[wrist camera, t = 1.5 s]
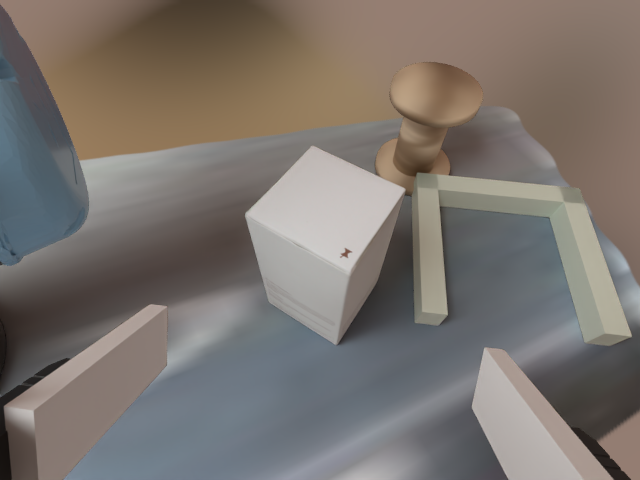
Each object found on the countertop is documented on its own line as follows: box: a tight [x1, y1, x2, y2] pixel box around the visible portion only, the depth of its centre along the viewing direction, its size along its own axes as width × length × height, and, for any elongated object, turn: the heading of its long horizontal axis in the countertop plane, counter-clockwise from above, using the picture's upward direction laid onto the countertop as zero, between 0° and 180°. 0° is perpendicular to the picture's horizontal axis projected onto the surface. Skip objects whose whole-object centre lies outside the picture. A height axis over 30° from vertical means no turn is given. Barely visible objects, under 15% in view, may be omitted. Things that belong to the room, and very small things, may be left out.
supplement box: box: [245, 146, 406, 345], centre depth 27 cm, size 7×7×13 cm
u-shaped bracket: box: [412, 172, 632, 346], centre depth 33 cm, size 16×15×2 cm
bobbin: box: [375, 62, 483, 196], centre depth 36 cm, size 8×8×10 cm
